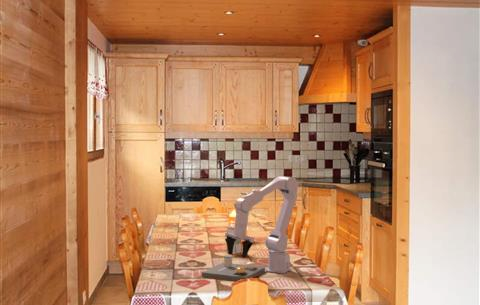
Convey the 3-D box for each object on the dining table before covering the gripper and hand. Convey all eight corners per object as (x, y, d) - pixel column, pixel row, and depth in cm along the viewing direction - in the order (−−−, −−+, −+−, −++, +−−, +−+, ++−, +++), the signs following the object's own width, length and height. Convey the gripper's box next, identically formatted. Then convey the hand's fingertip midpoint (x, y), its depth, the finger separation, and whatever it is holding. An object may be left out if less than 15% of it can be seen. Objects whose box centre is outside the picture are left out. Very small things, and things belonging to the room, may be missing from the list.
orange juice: (247, 239, 333) (247, 206, 332) (239, 242, 326) (238, 208, 325) (237, 238, 337) (237, 205, 337) (228, 240, 330) (228, 207, 330)
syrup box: (233, 251, 301) (233, 224, 300) (242, 252, 297) (241, 225, 296) (226, 253, 296) (226, 226, 296) (235, 254, 293) (234, 227, 292)
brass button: (246, 273, 247) (246, 267, 246) (242, 275, 243) (242, 269, 243) (238, 272, 248) (238, 266, 248) (234, 274, 245) (234, 268, 245)
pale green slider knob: (232, 266, 259) (232, 256, 259) (230, 267, 257) (230, 257, 257) (226, 265, 260) (225, 255, 260) (224, 266, 259) (223, 256, 258)
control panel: (265, 271, 257) (265, 267, 257) (245, 282, 239) (245, 277, 239) (223, 266, 267) (223, 262, 267) (201, 276, 249) (201, 272, 249)
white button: (256, 268, 255) (256, 262, 255) (252, 270, 252) (252, 264, 252) (248, 267, 257) (248, 261, 257) (244, 269, 254) (244, 263, 254)
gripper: (222, 222, 249) (218, 253, 248) (249, 227, 240) (245, 259, 240) (231, 222, 254) (228, 252, 254) (258, 227, 246) (254, 258, 245)
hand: (237, 255), depth 247 cm, fingers open, 7 cm apart
